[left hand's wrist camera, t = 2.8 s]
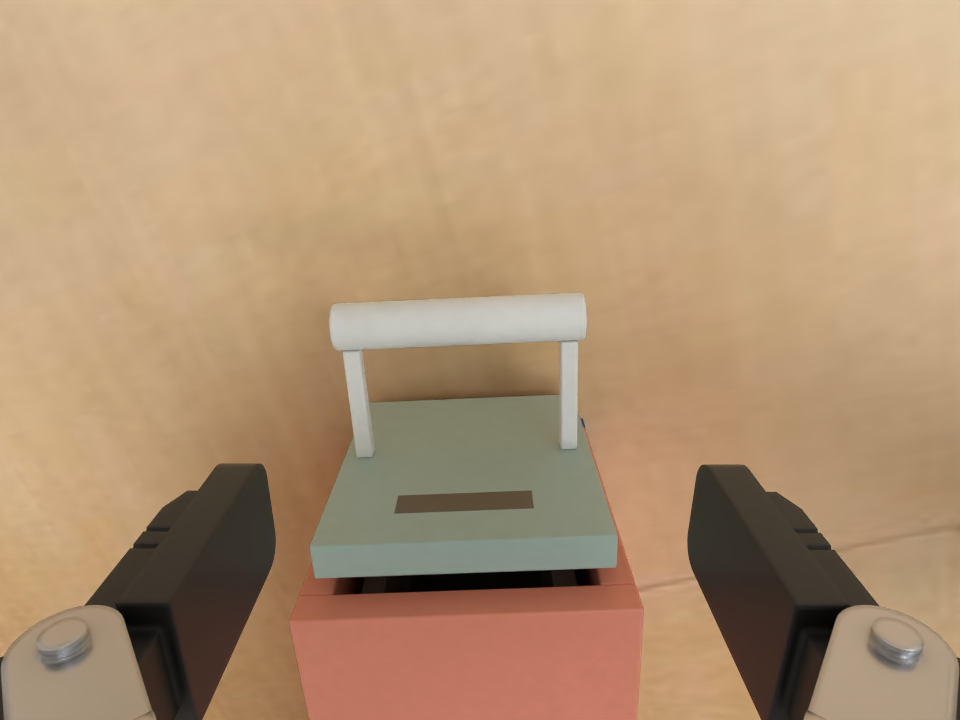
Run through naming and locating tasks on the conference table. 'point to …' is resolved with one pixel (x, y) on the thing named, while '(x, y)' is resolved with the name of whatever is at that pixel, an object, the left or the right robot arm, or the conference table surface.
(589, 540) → the drawer
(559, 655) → the cabinet
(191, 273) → the conference table surface
